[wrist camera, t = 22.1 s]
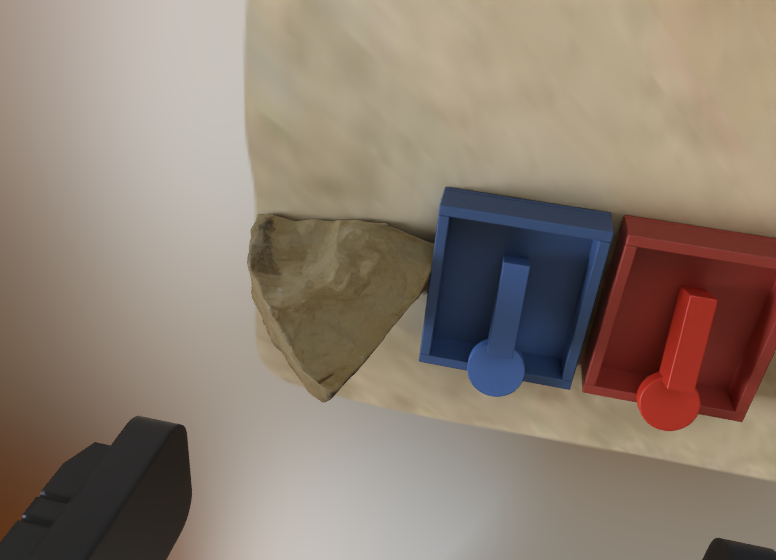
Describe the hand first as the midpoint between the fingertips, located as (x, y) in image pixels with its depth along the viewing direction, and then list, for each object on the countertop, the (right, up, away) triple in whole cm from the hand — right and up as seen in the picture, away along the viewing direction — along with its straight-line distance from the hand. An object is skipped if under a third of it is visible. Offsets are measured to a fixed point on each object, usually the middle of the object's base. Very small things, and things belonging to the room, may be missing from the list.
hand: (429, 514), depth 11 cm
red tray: (+16, +2, +29) cm, 33 cm away
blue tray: (+6, +4, +30) cm, 31 cm away
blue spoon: (+6, +1, +29) cm, 30 cm away
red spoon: (+15, -1, +28) cm, 32 cm away
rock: (-3, +6, +31) cm, 32 cm away
